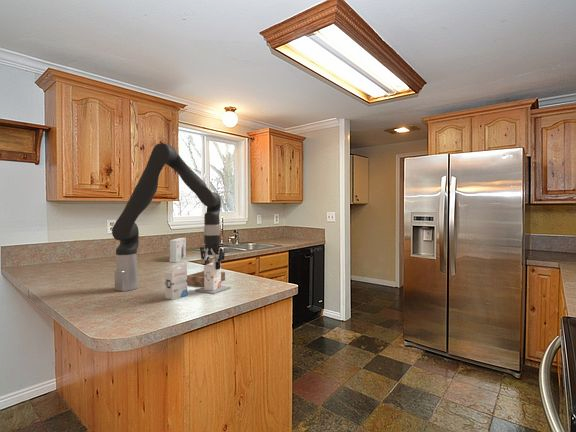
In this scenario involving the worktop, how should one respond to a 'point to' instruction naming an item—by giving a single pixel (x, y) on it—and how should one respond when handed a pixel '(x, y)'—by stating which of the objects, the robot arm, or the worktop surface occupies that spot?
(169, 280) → the ink box
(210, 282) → the ink cartridge box
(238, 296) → the worktop surface
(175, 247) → the skincare box
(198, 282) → the crate
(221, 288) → the mat
